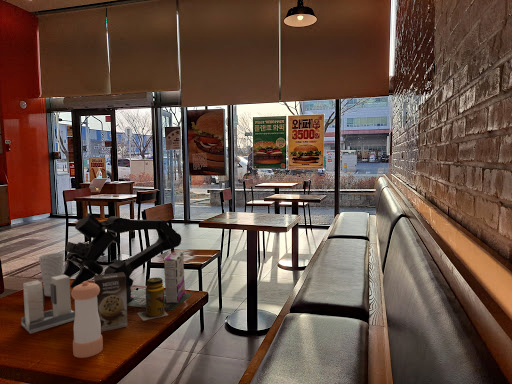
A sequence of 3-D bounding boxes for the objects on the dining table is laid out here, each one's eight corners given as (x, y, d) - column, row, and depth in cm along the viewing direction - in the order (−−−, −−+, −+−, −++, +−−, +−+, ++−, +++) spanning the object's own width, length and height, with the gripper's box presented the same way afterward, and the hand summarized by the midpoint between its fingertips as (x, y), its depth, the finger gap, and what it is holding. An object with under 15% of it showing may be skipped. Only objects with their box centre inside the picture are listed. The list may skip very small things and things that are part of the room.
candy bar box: (172, 292, 142) (171, 252, 141) (185, 292, 142) (184, 252, 141) (164, 303, 130) (163, 259, 129) (178, 303, 130) (177, 259, 129)
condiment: (168, 315, 120) (167, 280, 119) (143, 321, 115) (142, 285, 114) (161, 308, 126) (160, 275, 125) (137, 313, 121) (136, 279, 121)
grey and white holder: (70, 311, 124) (68, 272, 123) (80, 318, 118) (78, 277, 117) (21, 325, 113) (19, 282, 112) (30, 333, 107) (27, 288, 106)
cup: (47, 290, 146) (45, 253, 145) (69, 289, 147) (67, 252, 146) (36, 298, 137) (34, 258, 136) (60, 297, 138) (58, 257, 137)
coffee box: (96, 333, 107) (94, 280, 106) (95, 325, 113) (92, 275, 112) (128, 326, 111) (126, 276, 110) (125, 319, 117) (123, 270, 116)
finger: (66, 312, 121) (64, 274, 120) (71, 315, 118) (69, 277, 117) (51, 316, 118) (49, 277, 117) (56, 320, 114) (54, 280, 114)
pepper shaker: (97, 357, 93) (94, 285, 92) (68, 358, 93) (64, 286, 91) (106, 343, 100) (103, 277, 99) (79, 345, 100) (76, 277, 99)
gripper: (70, 229, 128) (37, 266, 120) (92, 235, 115) (56, 277, 108) (93, 247, 134) (63, 283, 127) (116, 255, 121) (84, 295, 114)
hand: (66, 284), depth 119 cm, fingers open, 9 cm apart
